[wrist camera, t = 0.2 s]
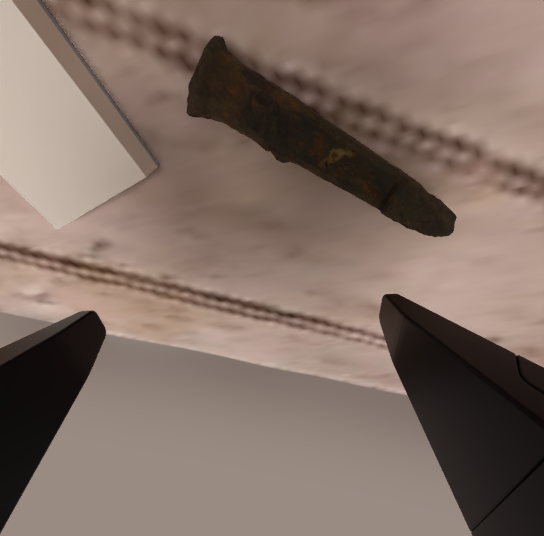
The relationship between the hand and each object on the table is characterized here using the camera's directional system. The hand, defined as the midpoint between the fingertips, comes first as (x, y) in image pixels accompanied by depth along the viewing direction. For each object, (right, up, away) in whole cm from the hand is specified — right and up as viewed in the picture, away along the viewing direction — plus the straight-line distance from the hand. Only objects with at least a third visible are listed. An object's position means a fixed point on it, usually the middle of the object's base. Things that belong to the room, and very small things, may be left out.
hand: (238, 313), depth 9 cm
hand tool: (+5, +10, +11) cm, 16 cm away
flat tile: (-13, +11, +10) cm, 20 cm away
